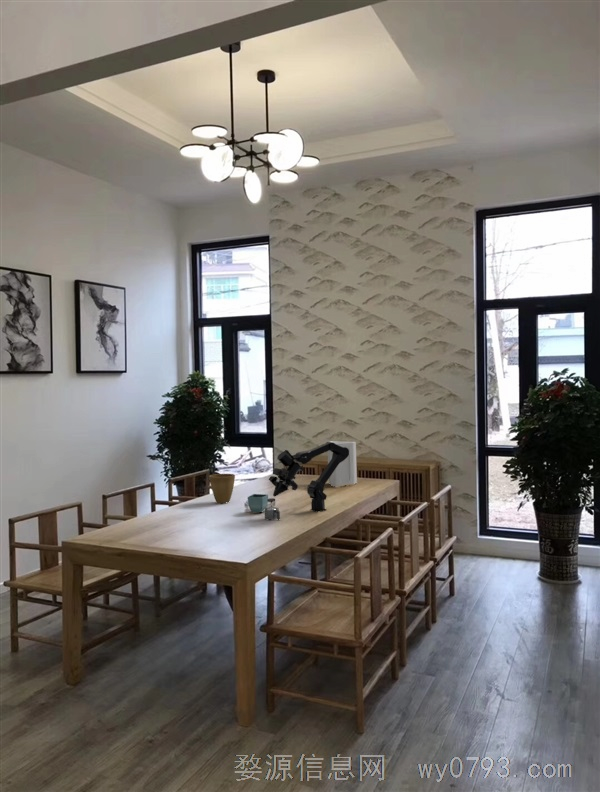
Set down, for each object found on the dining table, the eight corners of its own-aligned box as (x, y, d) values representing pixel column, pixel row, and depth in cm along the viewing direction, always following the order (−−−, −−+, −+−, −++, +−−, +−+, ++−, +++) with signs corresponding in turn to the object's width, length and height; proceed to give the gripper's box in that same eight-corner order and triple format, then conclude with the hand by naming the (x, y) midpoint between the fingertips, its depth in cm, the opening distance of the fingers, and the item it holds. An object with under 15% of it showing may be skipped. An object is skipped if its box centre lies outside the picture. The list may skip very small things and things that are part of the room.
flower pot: (263, 514, 334) (262, 497, 334) (247, 513, 337) (247, 496, 337) (269, 510, 342) (268, 494, 342) (254, 510, 345) (253, 493, 345)
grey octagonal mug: (273, 516, 328) (273, 506, 328) (284, 519, 320) (284, 509, 320) (262, 518, 324) (262, 508, 323) (273, 521, 316) (273, 511, 316)
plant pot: (236, 504, 364) (235, 476, 364) (210, 505, 362) (209, 477, 361) (235, 499, 379) (234, 472, 378) (210, 500, 376) (209, 474, 376)
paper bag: (321, 486, 415) (319, 443, 414) (331, 482, 427) (330, 441, 427) (347, 488, 405) (346, 444, 404) (357, 484, 418) (356, 441, 417)
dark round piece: (272, 508, 326) (272, 497, 326) (278, 510, 322) (278, 498, 322) (264, 510, 323) (264, 499, 323) (270, 511, 319) (270, 500, 319)
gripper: (271, 460, 334) (254, 483, 328) (292, 463, 319) (275, 488, 313) (283, 474, 339) (267, 497, 333) (305, 477, 324) (288, 502, 318)
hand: (273, 495), depth 324 cm, fingers closed
